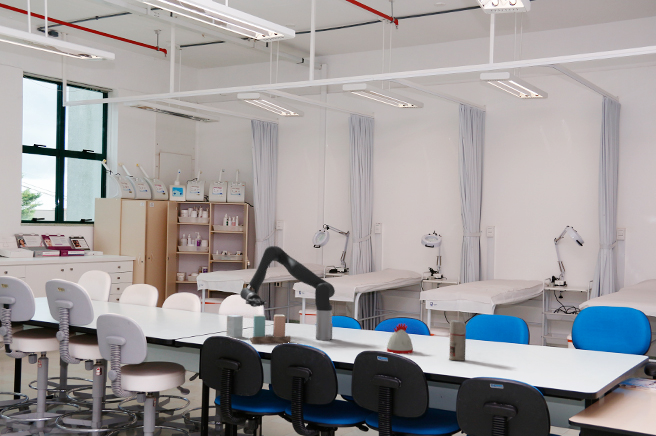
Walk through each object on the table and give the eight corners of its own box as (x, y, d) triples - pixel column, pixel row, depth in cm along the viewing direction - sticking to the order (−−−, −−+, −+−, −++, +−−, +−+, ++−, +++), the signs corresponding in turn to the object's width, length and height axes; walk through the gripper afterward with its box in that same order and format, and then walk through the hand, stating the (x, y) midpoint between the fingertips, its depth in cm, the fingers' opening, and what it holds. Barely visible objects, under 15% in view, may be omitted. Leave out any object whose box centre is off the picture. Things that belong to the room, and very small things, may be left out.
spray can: (447, 358, 336) (447, 319, 336) (462, 358, 336) (463, 319, 337) (451, 361, 327) (452, 321, 328) (467, 361, 328) (468, 321, 328)
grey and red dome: (418, 352, 350) (418, 324, 351) (397, 354, 344) (397, 325, 344) (402, 348, 362) (403, 321, 363) (382, 350, 356) (382, 322, 356)
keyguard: (285, 340, 380) (285, 332, 380) (290, 344, 366) (290, 336, 366) (249, 341, 375) (249, 333, 375) (252, 345, 361) (252, 336, 361)
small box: (242, 338, 385) (243, 316, 386) (233, 339, 381) (233, 316, 382) (235, 336, 391) (235, 314, 392) (226, 337, 387) (226, 315, 388)
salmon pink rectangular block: (283, 339, 377) (284, 314, 378) (284, 341, 372) (285, 315, 373) (273, 339, 376) (273, 314, 376) (274, 341, 371) (275, 315, 372)
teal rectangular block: (263, 339, 375) (264, 314, 375) (264, 341, 370) (265, 315, 370) (253, 340, 373) (253, 314, 374) (254, 341, 368) (254, 315, 369)
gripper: (243, 292, 395) (248, 297, 379) (264, 293, 399) (270, 298, 383) (242, 305, 395) (247, 310, 379) (263, 306, 399) (269, 311, 383)
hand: (258, 304), depth 381 cm, fingers closed
